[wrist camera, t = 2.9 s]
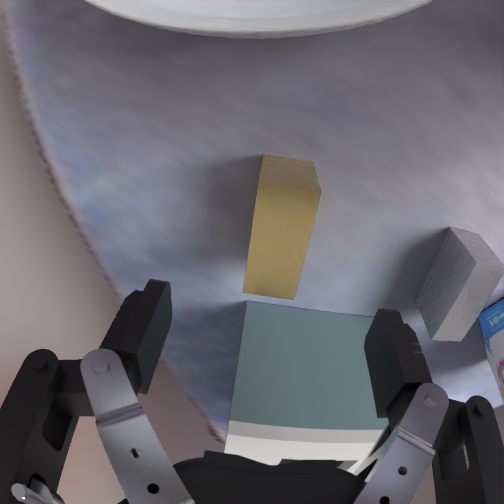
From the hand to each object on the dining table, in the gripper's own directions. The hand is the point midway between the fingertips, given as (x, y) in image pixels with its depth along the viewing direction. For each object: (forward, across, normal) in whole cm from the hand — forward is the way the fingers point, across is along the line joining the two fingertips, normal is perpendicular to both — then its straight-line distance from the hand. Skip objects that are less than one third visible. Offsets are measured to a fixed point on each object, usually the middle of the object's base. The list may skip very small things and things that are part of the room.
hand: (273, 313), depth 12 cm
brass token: (+8, 0, -1) cm, 8 cm away
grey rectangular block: (+8, -12, +1) cm, 14 cm away
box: (+8, -4, +13) cm, 16 cm away
